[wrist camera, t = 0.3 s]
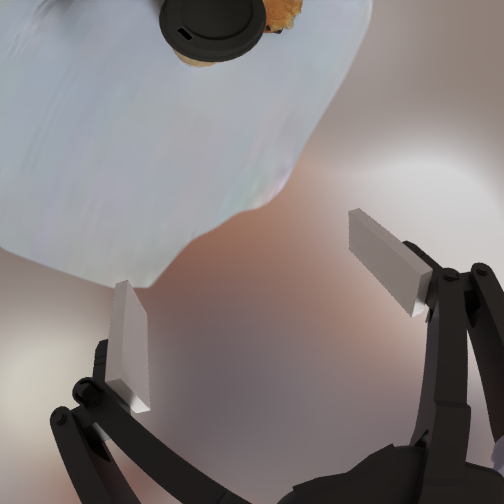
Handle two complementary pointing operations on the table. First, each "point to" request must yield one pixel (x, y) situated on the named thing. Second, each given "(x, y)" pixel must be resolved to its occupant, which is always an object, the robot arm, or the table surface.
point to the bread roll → (280, 14)
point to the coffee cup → (212, 29)
